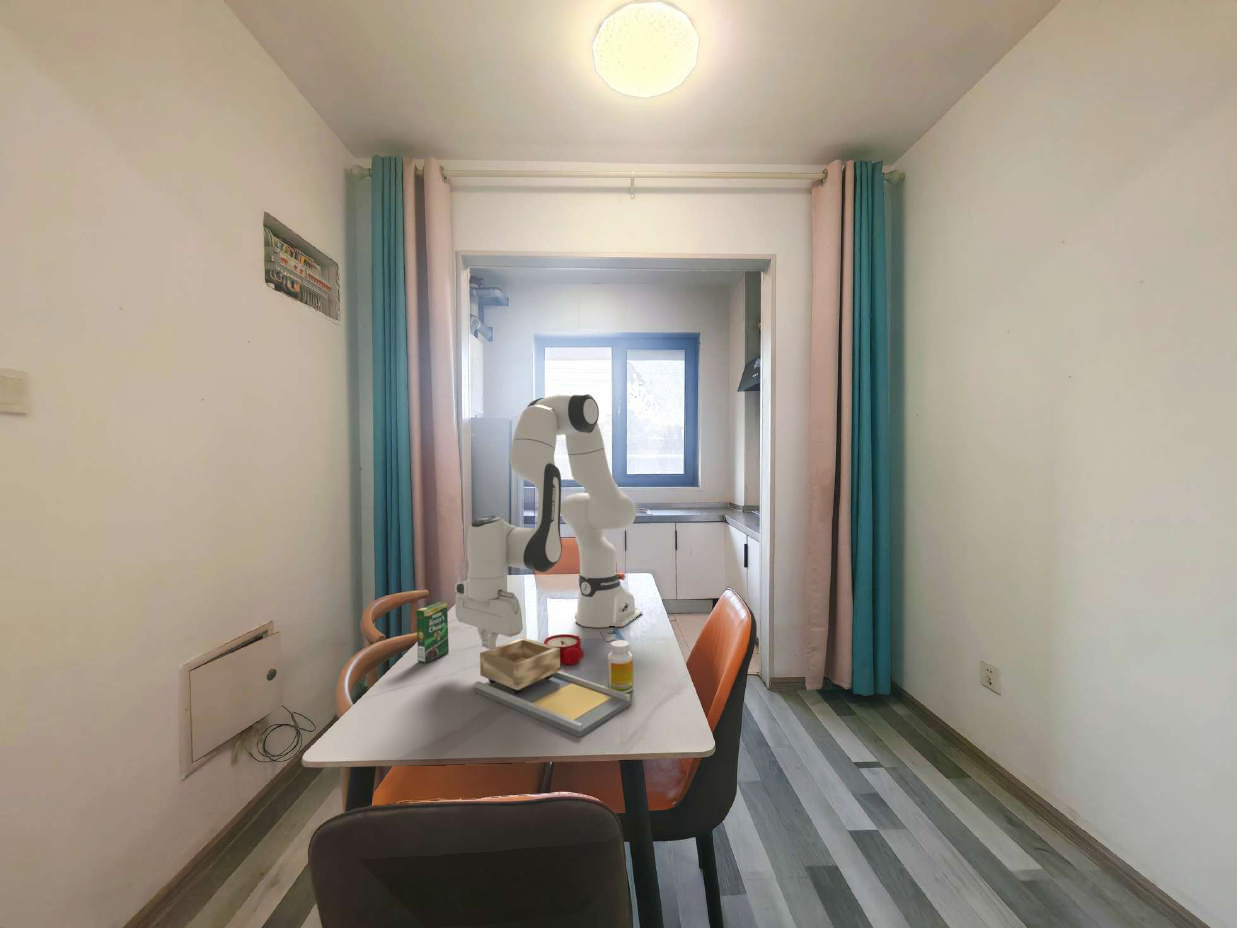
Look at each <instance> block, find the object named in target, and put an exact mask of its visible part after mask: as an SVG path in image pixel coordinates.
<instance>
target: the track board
mask: <svg viewBox="0 0 1237 928" xmlns="http://www.w3.org/2000/svg"><path fill="white" fill-rule="evenodd" d="M474 693H475V694H476V693H477V694H479V695H481V696H482V697H485V698H487V697H488V699H490V700H492V701H494V702H496V703H497V702H498V703H499V702H500V703H499V704H501V705H504V706H506V707H508V706H509V708H510V709H513V710H515V711H518V712H520V713H523V714H524V715H527V716H528V717H531V718H534V719H536V720H539V721H541V722H543V723H545V724H547V725H550V726H551V727H555V728H557V729H559V730H561V731H564V732H566V733H568V734H570V735H573V736H575V737H576V738H581V737H582V736H584V735H586V734H587V733H589V732H590V731H592V730H593V729H595V728H597V727H598V726H600V725H601V724H602V723H604V722H606V721H607V720H609V719H610V718H612V717H614V716H615V715H617V714H619V713H620V712H622V711H623V710H624V709H626V708H628V707H630V706H631V694H628V693H623V692H620V691H617V690H614V689H611V688H608V686H605V685H602V684H598V683H596V682H593V681H590V680H587V679H584V678H581V677H578V676H575V675H572V674H569V673H567V672H563V671H561V670H560V671H558V672H556V673H553V676H552V678H550V679H548V680H546V679H545V678H543V679H541V680H538V681H536V682H534V683H532V684H530V685H528V686H526V687H523V691H522V692H520V693H518V694H516V693H515V692H514V691H513V688H511V687H508V686H506V685H503V684H501V683H498V682H495V683H493V684H491V683H490V682H489V680H488V681H486V682H481V681H479V680H477V681H475V682H474Z"/></svg>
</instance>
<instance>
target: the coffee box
mask: <svg viewBox="0 0 1237 928" xmlns="http://www.w3.org/2000/svg"><path fill="white" fill-rule="evenodd" d="M415 612H416V637H417V639H416V642H417V662H418V663H421V664H427V663H429V662H431V661H433V660H435V659H437V658H440V657H443V656H444V655H446V654H448V653H449V648H450V647H449V646H450V645H449V617H448V616H449V615H448V602H446V601H437V602H435V603H432V604H430V605H428V606H425V607H421V608H419V609H417V610H416V611H415Z"/></svg>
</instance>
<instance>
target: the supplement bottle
mask: <svg viewBox="0 0 1237 928" xmlns="http://www.w3.org/2000/svg"><path fill="white" fill-rule="evenodd" d="M609 649H610V652H609V653H608V654H607V687H608V688H611V689H614V690H617V691H620V692H623V693H626V694H628V693H629V692H632V691H633V690H634V668H633V667H634V666H633V665H634V663H633V662H634V660H633V657H634V656H633V654H632V652H630V643H629V641H627V640H623V639H622V640H621V639H619V640H618V639H617V640H613V641H611V642H610V647H609Z"/></svg>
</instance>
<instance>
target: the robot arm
mask: <svg viewBox="0 0 1237 928" xmlns="http://www.w3.org/2000/svg"><path fill="white" fill-rule="evenodd" d="M599 416H600V410H599V405H598V402H597V401H596V399H595V398H594V397H593V396H592V395H590V394H588V393H584V392H575V393H560V394H556V395H552V396H548V397H540V398H536V399H534V400H532V401H531V402H529V404H528V405H527V407H526V408H525V409H524V410H523V411H522V413H521V415H520V417H519V420H518V422H517V425H516V428H515V431H514V435H513V438H512V443H511V446H510V447H511V448H510V452H509V463H510V466H511V468H512V470H513V472H514V473H515V474H516V475H517V476H519V477H520V478H521V479H523V480H525V481H527V482H529V483H531V484H532V485H534V486H535V488H536V491H537V493H538V502H537V518H536V520H537V521H536V525H535V526H534V527H533V528H532V527H520V526H516V525H512V524H510V523H508V522H507V521H505V520H504V518H503V517H502V516H501V515H495V514H494V515H493V514H492V515H491V514H490V515H486V516H481V517H480V516H479V517H477V518H475V519H474V520H472V521H471V522H470V525H469V527H468V531H467V539H466V540H467V542H466V556H467V557H466V558H467V561H468V566H469V567H468V571H467V580H464V581H461V582H457V583H455V584H454V592H455V593H456V596H455V600H454V601H455V616H456V619H457V621H458V622H459V623H462V624H465V625H469V626H472V627H474V628H477V632H478V635H479V637H480V640H481V647H482V648H484V649H487V650H490V649H493V648H495V647H497V643H496V641H497V639H498V636H499V635H502V636H504V637H508V638H512V637H515V636H517V635H519V634H521V633H522V631H523V628H524V627H523V626H524V625H523V616H522V609H521V603H520V602H519V601H520V600H519V599H518V598H517V596H516V594H515V593H514V592H511V591H510V592H509V591H508V570H507V567H512V568H518V569H526V570H530V571H535V572H539V573H547V572H548V571H550V570H551V569H552V568H554V567H555V565H556V564H558V562H559V561H560V559H561V556H562V553H563V551H562V550H563V549H562V548H563V547H562V545H563V544H562V538H561V536H562V535H561V518H562V521H563V522H564V523H565V524H566V525H567V526H568V527H569V528H570V530H571V531H572V534H573V535H574V538H575V540H576V543H577V547H578V552H579V571H580V573H579V575H578V587H579V591H578V595H577V596H578V597H577V607H576V609H577V610H576V612H575V615H574V616H576V617H575V623H576V622H577V623H578V625H579V624H580V625H579V626H582V627H588V628H599V629H600V628H609V626H615V628H617V627H624V626H626V625H628V624H629V623H631V622H632V621H634V620H635V619H636V617H637V616H638V617H640V616H641V615H643V614H644V613H643V610H642V609H640V608H639V607H636V605H635V597H634V595H633V594H632V593H631V592H630V591H629V590H627V589H626V588H625V587H624V586H623V585H621V581H625V579H626V574H625V573H621V572H618V573H617V549H616V547H615V546H614V544H613V543H612V542H610V541H609V540H608V539H607V538H606V537H605V534H604V532H603V531H619V530H626V529H629V528H630V527H631V526H632V525H633V524H634V522H635V519H636V517H637V507H636V504H635V502H634V501H633V499H632V498H631V497H629V495H627V494H625V493H624V492H623V490H622V489H621V488H620V487H619V486H618V484H617V482H616V481H615V480H614V478H613V476H612V473H611V471H610V468H609V463H608V460H607V459H608V458H607V455H606V451H605V444H604V439H603V435H602V431H601V429H600V426H599V423H598V421H599ZM559 435H561V436H562V435H565V445H566V446H565V447H566V451H567V456H568V457H567V458H568V462H569V467H570V472H571V477H572V479H573V480H574V481H575V482H576V483H577V484H578V485H580V486H581V487H583V488H584V490H585V491H586V492H577V493H573V494H570V495H567V496H566V497H565V498H564V499H563V500H562V475H561V472H560V469H559V468H558V467H557V466H556V464H555V450H556V446H557V438H558V437H557V436H559ZM642 613H643V614H642ZM640 614H641V615H640ZM639 615H640V616H639ZM638 617H637V618H638ZM633 619H634V620H633ZM630 621H631V622H630ZM577 623H576V624H577Z"/></svg>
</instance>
